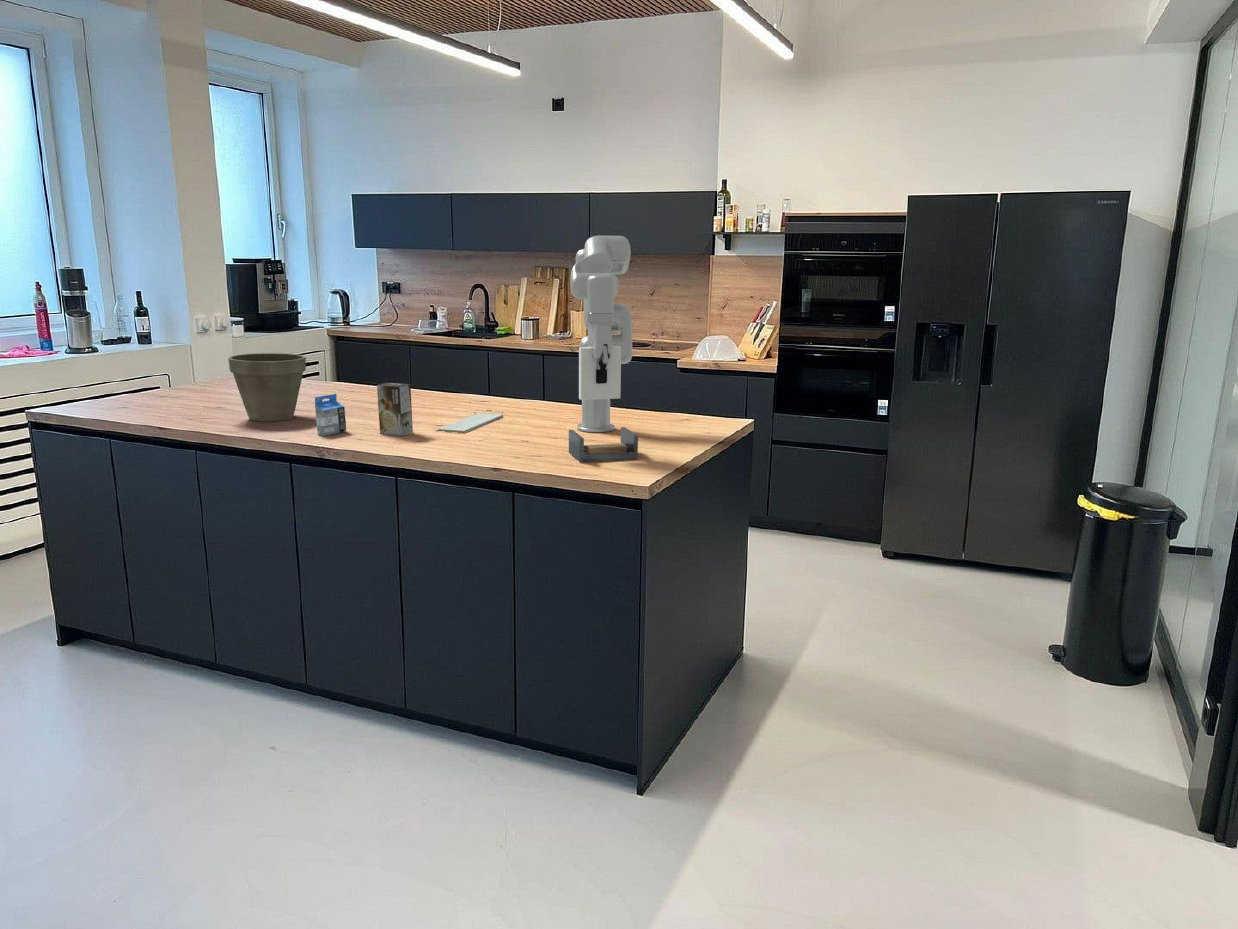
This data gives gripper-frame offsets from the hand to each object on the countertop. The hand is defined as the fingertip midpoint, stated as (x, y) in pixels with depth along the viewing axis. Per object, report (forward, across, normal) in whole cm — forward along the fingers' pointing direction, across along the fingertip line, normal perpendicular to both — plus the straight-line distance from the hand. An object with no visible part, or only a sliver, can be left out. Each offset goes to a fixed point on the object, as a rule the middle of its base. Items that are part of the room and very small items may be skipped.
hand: (599, 381), depth 253 cm
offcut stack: (+22, +6, 0) cm, 23 cm away
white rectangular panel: (+5, 0, 0) cm, 5 cm away
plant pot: (+22, -80, -96) cm, 127 cm away
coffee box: (+22, -43, -56) cm, 74 cm away
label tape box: (+22, -48, -76) cm, 93 cm away
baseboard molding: (+23, -54, -31) cm, 67 cm away
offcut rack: (+21, +4, 0) cm, 22 cm away
